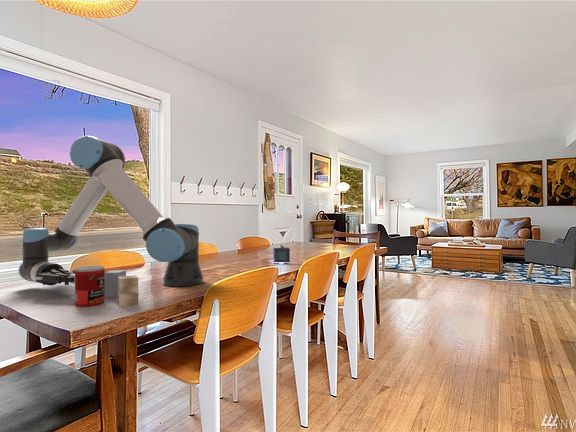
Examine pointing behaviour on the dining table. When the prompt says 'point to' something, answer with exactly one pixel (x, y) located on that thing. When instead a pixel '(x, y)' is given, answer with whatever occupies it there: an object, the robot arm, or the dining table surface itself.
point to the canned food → (89, 286)
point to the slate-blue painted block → (112, 282)
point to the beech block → (127, 290)
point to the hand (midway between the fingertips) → (82, 280)
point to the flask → (281, 254)
